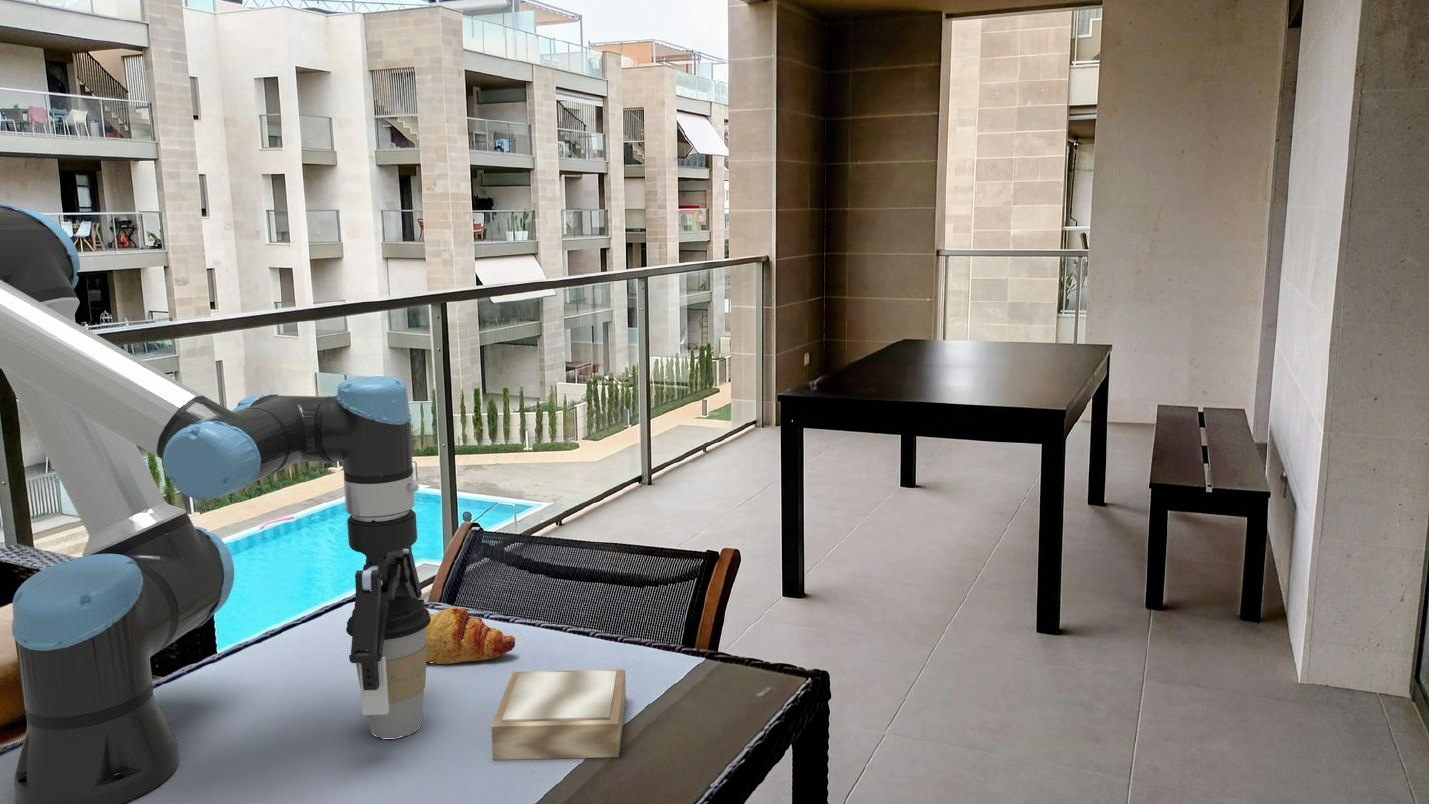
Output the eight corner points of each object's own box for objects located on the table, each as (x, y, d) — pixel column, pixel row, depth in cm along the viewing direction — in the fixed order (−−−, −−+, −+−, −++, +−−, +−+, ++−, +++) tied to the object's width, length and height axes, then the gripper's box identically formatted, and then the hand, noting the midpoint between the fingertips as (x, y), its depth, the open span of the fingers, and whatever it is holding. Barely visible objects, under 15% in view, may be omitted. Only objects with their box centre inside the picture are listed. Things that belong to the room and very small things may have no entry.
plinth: (493, 759, 113) (491, 724, 112) (513, 701, 126) (512, 669, 126) (618, 757, 113) (617, 721, 112) (625, 699, 127) (625, 667, 126)
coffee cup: (413, 751, 115) (405, 626, 112) (337, 743, 117) (328, 620, 114) (450, 712, 124) (443, 596, 121) (380, 705, 126) (372, 591, 123)
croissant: (369, 677, 142) (350, 640, 137) (400, 621, 150) (382, 584, 145) (509, 688, 137) (494, 650, 132) (533, 630, 145) (519, 592, 140)
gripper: (382, 545, 103) (395, 737, 107) (440, 484, 128) (449, 642, 132) (308, 546, 103) (323, 739, 107) (380, 485, 128) (391, 643, 131)
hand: (393, 686), depth 119 cm, fingers open, 13 cm apart
